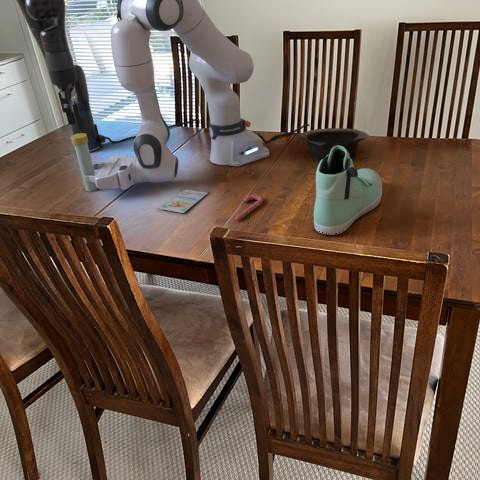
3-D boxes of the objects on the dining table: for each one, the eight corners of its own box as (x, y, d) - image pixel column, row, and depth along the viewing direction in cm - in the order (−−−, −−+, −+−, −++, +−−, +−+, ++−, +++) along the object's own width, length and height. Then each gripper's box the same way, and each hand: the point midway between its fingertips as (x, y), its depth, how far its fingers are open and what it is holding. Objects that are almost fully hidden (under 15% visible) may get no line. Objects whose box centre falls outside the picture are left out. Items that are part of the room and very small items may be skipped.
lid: (87, 138, 158) (86, 132, 157) (88, 143, 154) (87, 136, 152) (72, 141, 156) (70, 134, 155) (72, 146, 152) (70, 139, 151)
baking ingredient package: (158, 207, 146) (184, 188, 157) (159, 209, 146) (185, 189, 158) (183, 212, 142) (208, 192, 154) (183, 213, 143) (208, 193, 154)
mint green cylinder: (97, 185, 166) (85, 134, 156) (98, 190, 162) (85, 137, 153) (85, 187, 165) (72, 136, 155) (86, 192, 161) (72, 140, 152)
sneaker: (389, 187, 148) (396, 123, 138) (356, 242, 123) (361, 168, 112) (346, 181, 154) (350, 119, 144) (306, 232, 129) (307, 161, 118)
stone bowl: (326, 172, 161) (325, 145, 157) (286, 155, 181) (284, 131, 177) (383, 154, 170) (384, 128, 165) (339, 140, 190) (339, 116, 186)
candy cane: (221, 217, 140) (221, 213, 139) (250, 196, 150) (250, 192, 149) (238, 222, 136) (238, 217, 136) (266, 200, 146) (266, 196, 146)
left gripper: (52, 63, 148) (66, 115, 157) (43, 72, 136) (58, 128, 145) (77, 60, 149) (89, 112, 158) (69, 70, 137) (83, 125, 145)
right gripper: (135, 149, 167) (96, 152, 167) (121, 173, 149) (77, 175, 150) (138, 166, 170) (100, 168, 171) (124, 191, 152) (82, 193, 153)
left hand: (74, 120), depth 151 cm, fingers open, 7 cm apart
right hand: (89, 172), depth 160 cm, fingers open, 8 cm apart
